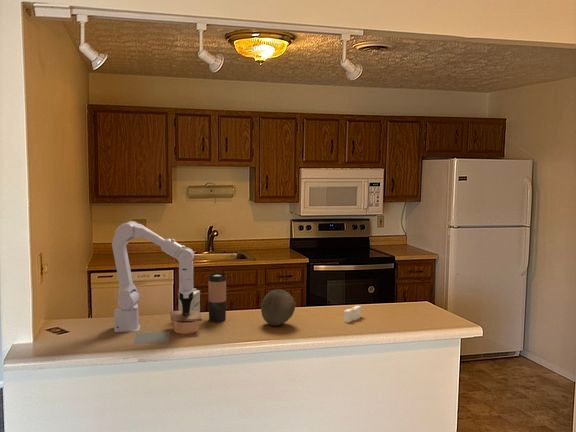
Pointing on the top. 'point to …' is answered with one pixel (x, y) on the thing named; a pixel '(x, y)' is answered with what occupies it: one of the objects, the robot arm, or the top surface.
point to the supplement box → (193, 302)
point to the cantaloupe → (277, 307)
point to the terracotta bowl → (186, 326)
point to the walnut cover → (185, 316)
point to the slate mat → (151, 337)
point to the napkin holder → (352, 314)
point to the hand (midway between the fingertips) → (186, 311)
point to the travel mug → (217, 297)
